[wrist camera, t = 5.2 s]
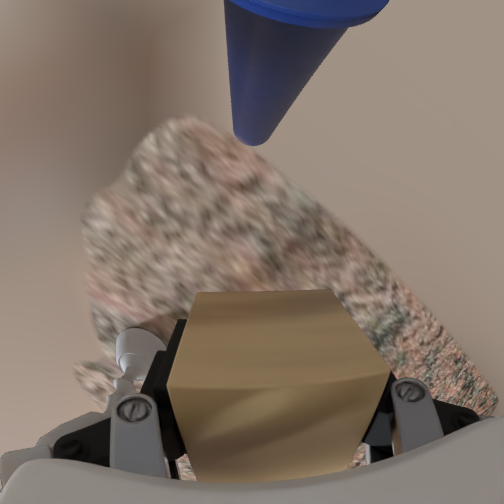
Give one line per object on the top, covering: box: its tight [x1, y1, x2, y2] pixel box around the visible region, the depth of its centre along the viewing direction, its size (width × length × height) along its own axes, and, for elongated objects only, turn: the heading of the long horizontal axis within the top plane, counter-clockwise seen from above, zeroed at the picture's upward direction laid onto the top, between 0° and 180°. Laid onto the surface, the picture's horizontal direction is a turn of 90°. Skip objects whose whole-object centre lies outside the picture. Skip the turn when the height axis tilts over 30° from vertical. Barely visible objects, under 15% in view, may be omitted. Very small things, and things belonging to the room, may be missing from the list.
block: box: [167, 289, 391, 483], centre depth 8 cm, size 5×5×5 cm
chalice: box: [0, 328, 167, 493], centre depth 13 cm, size 7×7×18 cm
